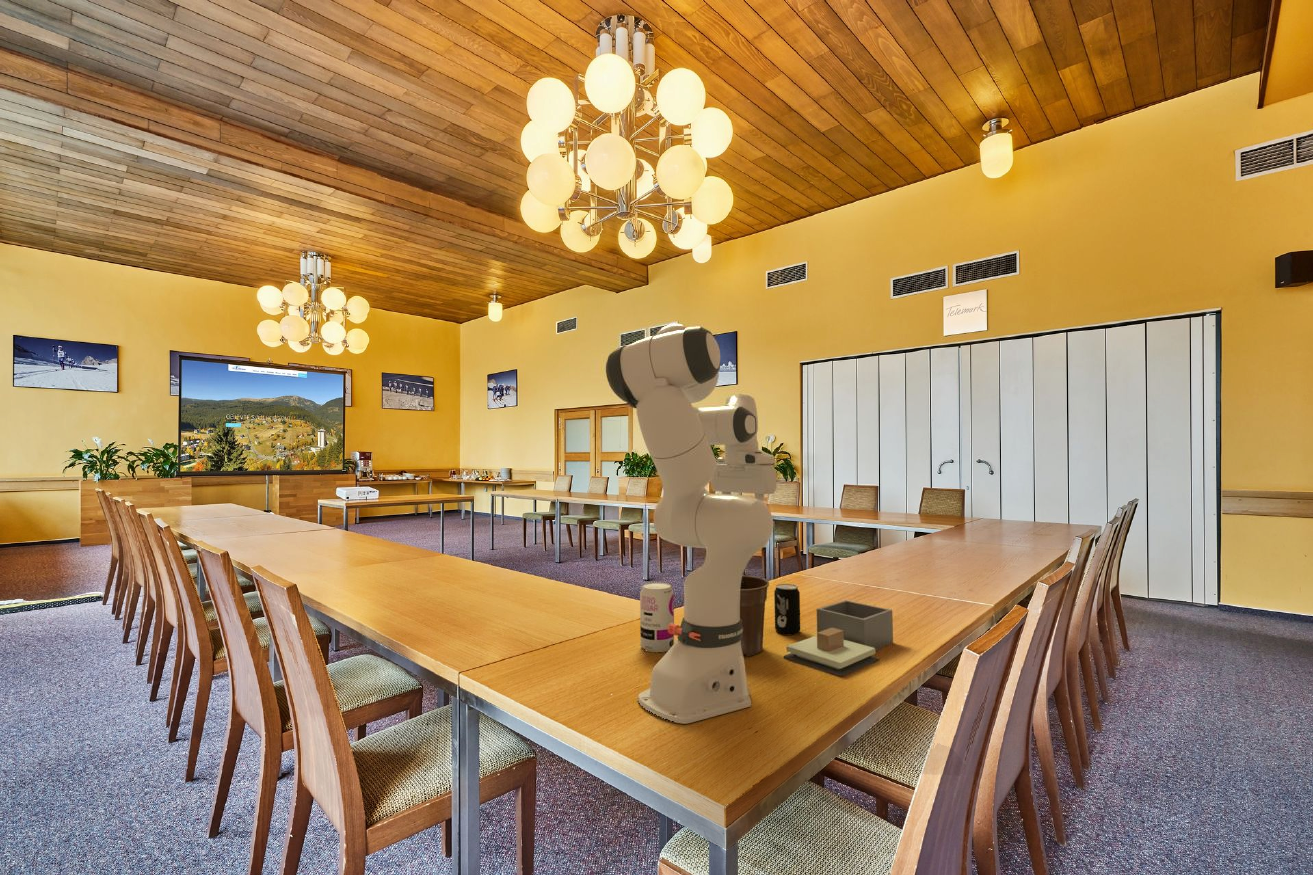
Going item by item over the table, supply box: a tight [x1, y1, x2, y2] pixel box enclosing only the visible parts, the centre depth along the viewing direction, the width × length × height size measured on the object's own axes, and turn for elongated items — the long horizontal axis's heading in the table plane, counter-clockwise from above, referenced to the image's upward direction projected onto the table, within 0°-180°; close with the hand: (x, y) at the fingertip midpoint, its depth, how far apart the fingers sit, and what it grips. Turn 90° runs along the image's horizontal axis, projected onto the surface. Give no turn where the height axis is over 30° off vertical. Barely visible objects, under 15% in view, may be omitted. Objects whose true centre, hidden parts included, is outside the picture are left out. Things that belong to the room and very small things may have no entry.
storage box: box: [816, 599, 894, 651], centre depth 139 cm, size 13×13×8 cm
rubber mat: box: [783, 652, 880, 678], centre depth 127 cm, size 15×15×1 cm
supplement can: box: [639, 582, 675, 653], centre depth 136 cm, size 8×8×15 cm
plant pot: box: [740, 575, 770, 657], centre depth 135 cm, size 16×16×16 cm
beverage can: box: [773, 583, 801, 636], centre depth 148 cm, size 7×7×12 cm
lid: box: [786, 628, 876, 669], centre depth 127 cm, size 14×14×6 cm
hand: (742, 510), depth 146 cm, fingers open, 8 cm apart
